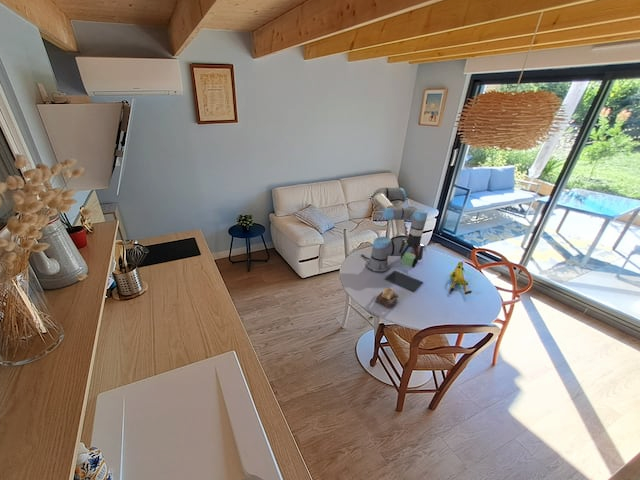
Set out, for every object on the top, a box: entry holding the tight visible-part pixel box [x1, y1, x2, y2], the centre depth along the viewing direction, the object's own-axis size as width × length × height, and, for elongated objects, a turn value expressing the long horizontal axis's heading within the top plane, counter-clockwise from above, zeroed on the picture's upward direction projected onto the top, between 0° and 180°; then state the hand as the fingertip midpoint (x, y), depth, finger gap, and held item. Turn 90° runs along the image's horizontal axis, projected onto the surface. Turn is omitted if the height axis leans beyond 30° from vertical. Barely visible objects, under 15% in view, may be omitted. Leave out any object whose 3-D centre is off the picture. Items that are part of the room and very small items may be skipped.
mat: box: [384, 270, 423, 292], centre depth 196 cm, size 20×14×1 cm
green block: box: [400, 252, 415, 268], centre depth 188 cm, size 7×7×6 cm
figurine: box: [449, 261, 472, 295], centre depth 192 cm, size 11×11×30 cm
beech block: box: [381, 286, 395, 300], centre depth 174 cm, size 5×5×4 cm
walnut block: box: [375, 291, 398, 309], centre depth 177 cm, size 9×9×4 cm
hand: (407, 265), depth 190 cm, fingers closed on green block, 7 cm apart
